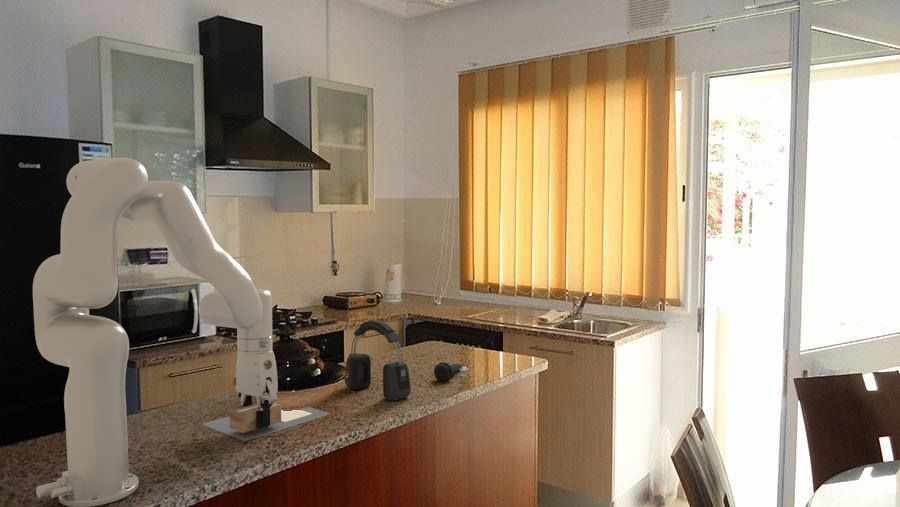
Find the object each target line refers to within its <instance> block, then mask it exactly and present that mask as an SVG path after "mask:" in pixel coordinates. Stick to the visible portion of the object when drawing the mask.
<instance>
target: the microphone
mask: <svg viewBox="0 0 900 507" xmlns="http://www.w3.org/2000/svg"><path fill="white" fill-rule="evenodd" d="M462 366H463V364H460V363H454V364H449V363H447V362H439V363H438V364H436V365H435V366H434V369H433V374H434V378H435V379H436V380H438V382H439V381H440V382H448V381H449V380H450V379H452V377H453V376H454V374H457V373H458V372H459V369H460V368H461V367H462ZM462 368H463V367H462ZM462 368H461V369H462Z"/></svg>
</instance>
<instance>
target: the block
mask: <svg viewBox="0 0 900 507" xmlns="http://www.w3.org/2000/svg"><path fill="white" fill-rule="evenodd" d="M263 402H264V401H262V403H263ZM277 403H278V402H275V401H274V402H273V404H272V408H271V409H270V425H272V424H276V423H279V422H281V405H280V404H277ZM252 404H253V403H252ZM256 411H258V406H257V403H255V404H253V405H249V406H245V407H242V406H241V407H238V408H233V409H230V410H229V416H230V428H231V429H234V430H236V431H239V432H242V433H244V432H247V431H251V430H254V429H258V428H257V427H256Z"/></svg>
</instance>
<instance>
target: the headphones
mask: <svg viewBox="0 0 900 507" xmlns="http://www.w3.org/2000/svg"><path fill="white" fill-rule="evenodd" d="M370 331H374V332H377V333H379V334H380V335H382V336H384V338H385V339H386V340H387V343H389V344H393V345H394V347H395V349H396V352H397V355H398V356H397V357H398V361H394V362H393V361H392V362H389V363H386V364H384V365H383V368H382V393H383V398H384V399H386V400H387V401H399V400H401V399H405V398H407V397H409V396H410V394H411V392H412V387H411V378H410V372H409V371H410V370H409V367H408V364H406V363H404V362H405V360H404V353H403V349H402V347H401V345H400V343H399V341H400V337H399V335H398V333H396V331H395V330H394V329H393V327H392V326H390V325H389V324H387V323H386V322H384V321H381V320H377V319H375V320H368V321H364V322H363V323H360V325H359V327H357V329H355V331H354V332H353V335H354V337H353V340H352V341H351V342H352V343H351V348H350V353H349V354H348V357H347V359H346V363H345V370H346V369H347V370H348V371H349V375H348V377H347V378H345V377H344V382H345V385H346V387H347V388H348V389H349V390H353V391H359V390H364V389H367V388H369V387H370V386H371V384H372V383H371V382H372V360H371V357H370V355H369V354H366V353H357V352H356V348H357V344H358V340H359V339H360V336H363V335H365V334H366V333H367V332H370Z"/></svg>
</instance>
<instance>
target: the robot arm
mask: <svg viewBox="0 0 900 507" xmlns="http://www.w3.org/2000/svg"><path fill="white" fill-rule="evenodd" d="M65 182H66V188H67V190H68V192H69V194H70V195H71V197H70V198H69V200H68V202H67V204H66V205H65V208H64V210H63V213H62V217H61V224H60V253H59V254H55V255H52V256H49V257H48V258H47V259H46V258H45V260H44V261H43V262H42V263H41V264H40V265H39V266H38V268H37V270H36V272H35V274H34V276H33V282H32V302H33V322H34V336H35V337H34V338H35V341H36V346H37V349H38V351H39V353H40V355H41V356H42V357H43V358H44V359H45V360H47V361H48V362H50V363H53V364H54V365H58V366H63V367H67V368H69V372H68V375H67V380H66V383H65V388H64V394H63V395H64V396H63V403H64V404H63V405H64V406H63V407H64V415H65V416H64V419H65V438H66V439H65V440H66V456H67V457H66V458H67V460H66V461H67V470H66V471H62V472H61V477H60V478H57V479H56V481H54V482H50V483H49V482H48V483H44V484H42V485H39V486H36V489H35V490H36V496H37V498H39V499H41V498H43V497H47V496H50V497H51V499H55V498H57V497H58V501H59V503H60V504H62V505H63V506H66V507H98V506H103V505H106V504H110V503H113V502H117V501H119V500H122V499H125V498H126V497H128V496H130V495H131V494H133V493H134V492H135V491H136V490H137V489H138V487H139V485H140V482H139V480H140V479H139V477H138V476H137V475H135V474H133V473H130V470H129V469H130V468H129V467H130V466H129V465H130V464H129V446H128V445H129V444H128V442H129V441H128V440H129V439H128V419H127V418H128V417H127V415H128V414H127V402H126V401H127V400H126V399H127V398H126V375H127V374H126V373H127V366H128V360H129V352H130V342H129V341H130V340H129V336H128V334H127V332H126V330H125V329H124V328H123V326H122V325H121V324H120V323H118V322H117V321H115V320H113V319H110V318H107V317H104V316H98V315H91V314H90V310H93V309H96V310H97V309H101V308H103V307H106V306H108V305H110V304H111V303H112V302H113V301H114V299H115V298H116V296H117V294H118V289H119V288H118V287H119V276H118V275H119V274H118V252H117V251H118V250H117V233H118V232H117V231H118V225H119V222H120V221H121V220H120V219H126V220H129V221H131V222H132V221H133V222H136V223H140V224H155V225H156V227H157V229H158V231H159V232H160V234H161V236H162V238H163V239H164V241H165V243H166V245H167V246H168V249H169V250H170V253H171V254H172V256H173V258H174V260H175V261H176V263H177V264H178V265H180V267H183V269H185V270H186V271H188V272H190V273H191V274H194V275H196V276H198V277H200V278H202V279H203V280H205V281H206V282H207V283H209V284H211V285H212V286H213V287H214V288H215V289H216V291H212V292H209V293H207V294H206V295H204V296H203V297H202V298H201V300H200V302H199V305H198V314H199V316H200V318H201V319H202V320H203V322H205V323H207V324H209V325H211V326H215V327H222V328H232V329H237V330H236V333H237V335H236V337H237V338H236V339H237V340H236V342H237V343H236V344H237V345H236V348H237V355H236V363H235V364H236V365H235V385H234V389H235V390H236V393H237V396H238V397H239V404H240V406H241V407H245V406H249V405H253V404H257V406H258V411H256V427H257V428H258V429H261V428H264V427H268V426H270V409H271V408H272V404H273V402H274V403H275V402H276V400H277V399H278V395H277V394H278V389H279V385H278V368H277V361H276V356H275V353H274V351H273V296H272V293H271V291H270V290H268V289H263V288H256V286H255V284H254V282H253V280H252V278H251V276H250V275H249V274H248V272H247V271H246V270H245V268H243V267H242V265H240V264H239V263H238V262H237V261H236V260H235V259H234V258H233V257H232V256H231V255H230V254H229V253H228V252H227V251H225V250H224V248H222V247H221V246H220V245H219V244H218V242H217V241H216V239H215V238H214V236H213V235H214V234H213V233H212V231H211V230H210V227H209V225H208V223H207V221H206V220H205V216H204V215H203V214H202V212H201V209H200V207H199V206H198V203H197V202H196V200H195V198H194V196H193V194H192V192H191V190H190V189H189V188H188V186H186V185H185V184H184V183H182V182H180V181H176V180H167V179H166V180H149V175H148V171H147V169H146V168H145V166H144V165H143V164H142V163H141V162H140V161H138V160H136V159H133V158H129V157H108V158H100V159H89V160H82V161H81V162H78V163H76V164H75V165H74V166H72V167H71V168H70V170H69V172H68V173H67V175H66V181H65ZM263 399H265V400H264V401H263ZM255 400H256V403H255V402H254V401H255ZM262 402H263V403H262Z"/></svg>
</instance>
